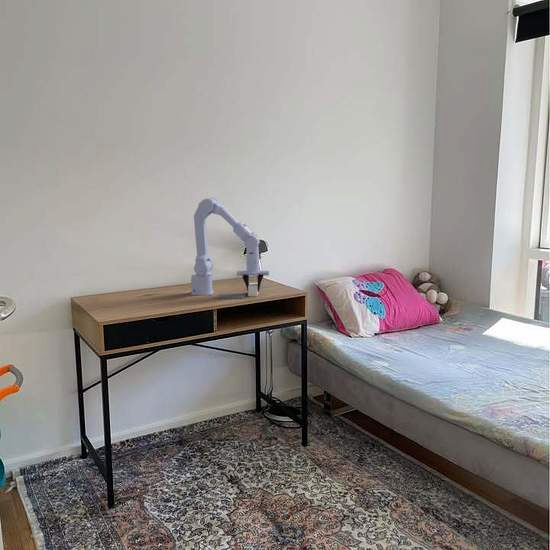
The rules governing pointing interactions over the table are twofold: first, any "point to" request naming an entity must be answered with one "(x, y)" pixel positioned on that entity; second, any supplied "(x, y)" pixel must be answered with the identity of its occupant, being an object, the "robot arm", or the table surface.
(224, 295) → the mat
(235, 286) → the table surface
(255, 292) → the white rectangular block
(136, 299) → the table surface
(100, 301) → the table surface
